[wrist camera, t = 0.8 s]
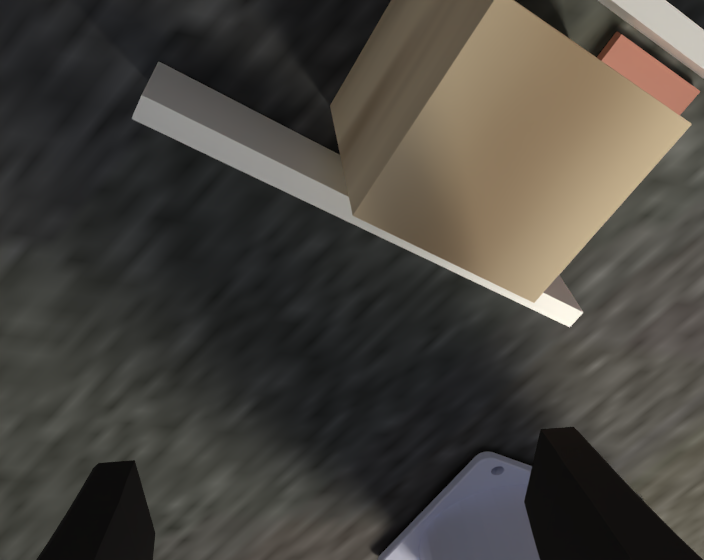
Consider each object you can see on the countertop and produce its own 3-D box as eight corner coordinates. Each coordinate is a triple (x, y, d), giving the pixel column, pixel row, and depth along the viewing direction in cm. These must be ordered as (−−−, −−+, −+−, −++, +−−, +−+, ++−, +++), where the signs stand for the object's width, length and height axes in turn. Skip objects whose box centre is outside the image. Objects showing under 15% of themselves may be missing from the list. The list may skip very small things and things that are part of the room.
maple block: (568, 38, 17) (691, 124, 12) (465, 179, 19) (533, 302, 14) (426, -62, 15) (500, -10, 10) (329, 105, 17) (352, 215, 12)
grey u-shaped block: (726, 64, 17) (787, 95, 15) (540, 278, 21) (569, 327, 19) (297, -265, 13) (303, -283, 11) (149, 82, 16) (131, 118, 14)
